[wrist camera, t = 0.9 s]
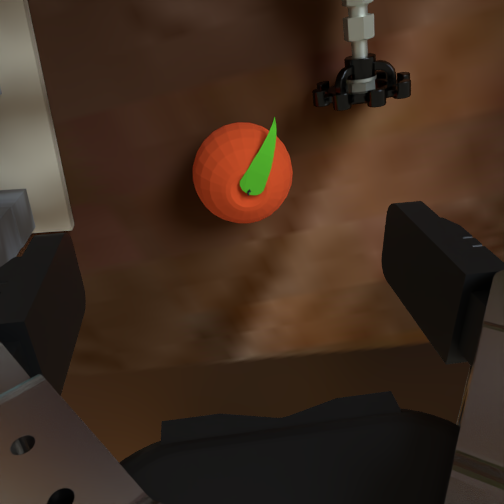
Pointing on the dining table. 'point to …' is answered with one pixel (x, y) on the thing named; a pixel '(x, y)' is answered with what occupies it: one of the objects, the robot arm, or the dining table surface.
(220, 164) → the clementine
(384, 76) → the valve
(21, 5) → the frame
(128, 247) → the dining table surface
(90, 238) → the dining table surface
